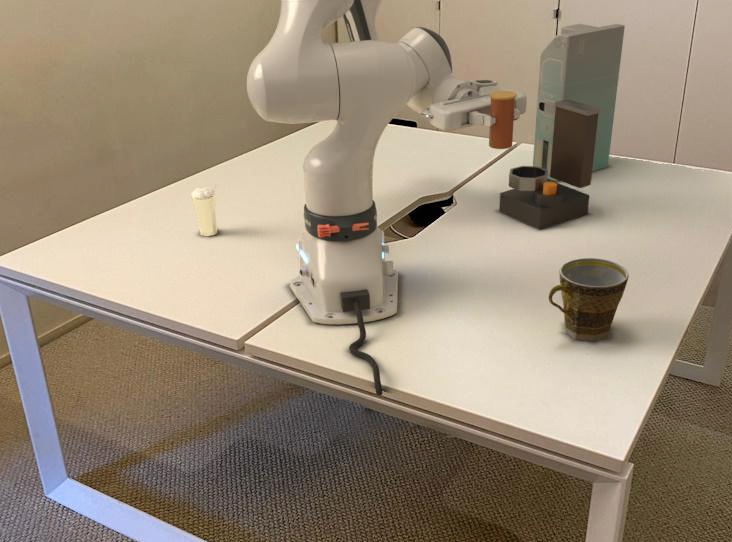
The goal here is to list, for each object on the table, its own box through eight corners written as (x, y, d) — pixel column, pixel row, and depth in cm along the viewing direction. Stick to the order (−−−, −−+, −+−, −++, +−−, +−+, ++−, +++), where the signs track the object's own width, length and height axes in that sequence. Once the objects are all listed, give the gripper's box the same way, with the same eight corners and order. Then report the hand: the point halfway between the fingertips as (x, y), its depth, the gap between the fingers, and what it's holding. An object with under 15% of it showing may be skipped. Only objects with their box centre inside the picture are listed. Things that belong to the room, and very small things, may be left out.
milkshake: (219, 238, 164) (212, 189, 159) (193, 237, 165) (185, 187, 160) (227, 229, 168) (220, 180, 162) (202, 228, 169) (194, 179, 163)
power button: (539, 193, 164) (540, 183, 162) (549, 190, 165) (550, 180, 164) (549, 197, 162) (549, 187, 161) (559, 194, 163) (559, 184, 162)
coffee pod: (517, 148, 158) (520, 96, 153) (491, 150, 157) (493, 98, 152) (509, 140, 162) (512, 89, 157) (484, 142, 161) (486, 91, 156)
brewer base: (499, 211, 172) (500, 182, 168) (546, 197, 177) (548, 169, 174) (541, 230, 163) (543, 200, 159) (589, 215, 168) (593, 186, 165)
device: (583, 158, 198) (598, 20, 181) (608, 166, 192) (625, 25, 176) (531, 172, 190) (541, 30, 174) (555, 181, 185) (568, 36, 168)
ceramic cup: (591, 310, 135) (598, 252, 130) (634, 336, 128) (643, 276, 122) (525, 330, 130) (529, 271, 125) (566, 359, 123) (572, 298, 117)
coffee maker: (501, 183, 168) (505, 107, 160) (550, 169, 174) (556, 96, 166) (542, 200, 160) (548, 121, 151) (591, 185, 166) (600, 108, 157)
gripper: (416, 95, 159) (461, 111, 150) (499, 78, 168) (546, 92, 159) (416, 129, 163) (460, 146, 153) (497, 110, 172) (544, 125, 162)
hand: (505, 118), depth 156 cm, fingers closed on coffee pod, 4 cm apart
